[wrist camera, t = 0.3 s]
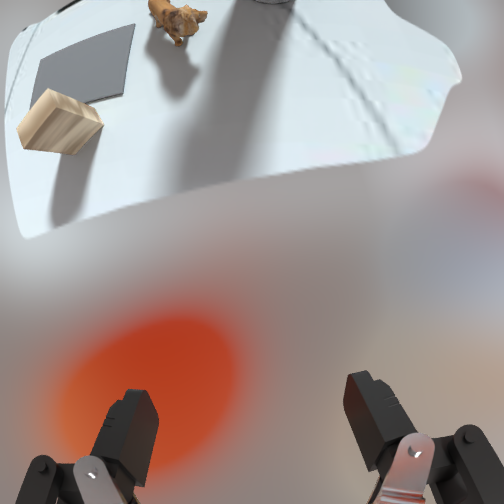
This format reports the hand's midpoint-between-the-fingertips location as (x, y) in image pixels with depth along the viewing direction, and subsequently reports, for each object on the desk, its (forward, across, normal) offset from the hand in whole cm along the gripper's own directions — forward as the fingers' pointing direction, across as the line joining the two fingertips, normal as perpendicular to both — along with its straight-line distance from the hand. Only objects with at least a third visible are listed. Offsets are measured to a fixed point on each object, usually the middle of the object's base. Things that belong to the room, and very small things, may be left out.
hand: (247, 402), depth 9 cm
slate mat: (+32, +26, -31) cm, 52 cm away
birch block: (+31, +23, -19) cm, 43 cm away
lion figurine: (+31, +7, -34) cm, 46 cm away
